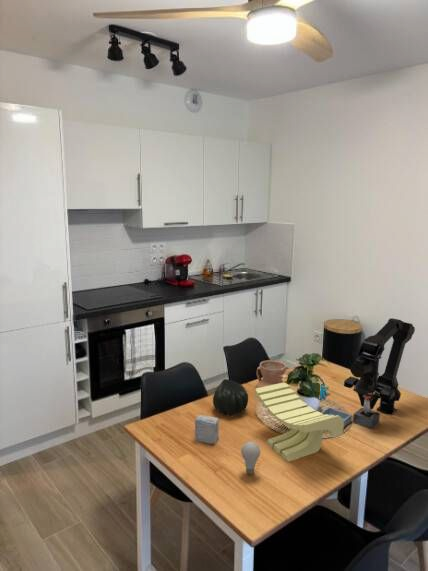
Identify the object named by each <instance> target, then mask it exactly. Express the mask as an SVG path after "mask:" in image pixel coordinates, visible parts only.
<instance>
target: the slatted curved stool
mask: <svg viewBox="0 0 428 571" xmlns="http://www.w3.org/2000/svg"><path fill="white" fill-rule="evenodd" d="M254 391H255V392H254V394H255V395H254V396H255V397H257V398H258V402H260V403H261V404H262V407H263V408H265V409H267V414H268V413H269V414H270V415H271V416H272V417H274V419H276V420H277V421H278V422H280V423H282V424H283V425H284V426H285V427H286V428H288V429H289V431H287V432H285V433H283V434H281V435H278V436H275V437H271V438H268V439H267V441H266V444H267V445H269V447H271V448H273V450H274V451H275V452H276V453H277V454H279V455H281V457H282V458H283V459H284V460H286V462H291V461H295V460H297V459H300V458H303V457H307V456H309V455H312V454H315V453H316V454H317V452H318V451H320V449H321V448H322V443H323V436H324V433H328V434H329V435H330V436H331V437H332V438H337V437H340V436H342V435H344V428H343V427H344V422H343V419H342V418H341V417H340V416H338V415H337V416H334V415H331V416H329V415H327V414H326V415H324V414H322V413H321V412H320V411H319V410H316V409H314V408H313V407H311V406H309V405H308V403H306V402H304V400H301V397H300V396H299V395H298V394H297V393H296V392H295V390H293V389H292V387H291V385H289V384H288V383H286V382H285V383H279V384H274V385H270V386H265V387H260V388H257V387H256V388H254Z"/></svg>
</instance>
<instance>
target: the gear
mask: <svg viewBox="0 0 428 571" xmlns="http://www.w3.org/2000/svg"><path fill="white" fill-rule="evenodd" d="M323 383H324V385H323ZM320 384H321V391H320V396H319V397H320V399H319V400H320V401H321V400H322V399H326V397H327V395H328V394H329V392H328V391H327V390H328V389H330V387H329V385H328V386H326V384H325V382H322V383H320ZM325 386H326V387H325Z"/></svg>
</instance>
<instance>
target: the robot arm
mask: <svg viewBox="0 0 428 571" xmlns="http://www.w3.org/2000/svg"><path fill="white" fill-rule="evenodd" d="M415 330H416V328H415V326H414V325H413V323H410V322H405V321H403V320H401V319H397V318H393V317H392V318H388V320H387V322H386V323H385V324H384V325H383V326H382V327H381V328H380V330H378V331H377V333H376V334H374V335H370V336H367V337H366V338H365V339H363V341H362V342H361V344H360V346H359V349H358V351H357V354H356V357H357V358H356V359H355V362H353V363H351V365H350V367H349V369H350V370H349V371H350V373H351V374H352V376H349V377H347V378H346V379H344V382H343V386H344V387H345V388H348V389H352V388H353V389H352V391H353V392H355V393H356V394H357V395H358V399H359V401H360V405H361V408H363V405H364V397H363V396H362V394H363V395H368V394H369V393H374V394H373V395H372V404H371V410H373V409H375V406H376V404H377V403H378V401H379V406H378V407H377V408H376V412H382V413H383V414H387V415H390V416H391V415H393V414H394V413H395V412H397V410H398V409H397V408H396V407H395V402H399V401H400V398H401V395H402V394H401V392H400V390H399V388H398V387H399V382H398V379H397V375H398V371H399V368H400V363H401V361H402V357H403V353H404V350H405V346H406V344H407V343H408V342H409V341H411V340H412V338H413V335H414V334H415ZM391 338H392V339H393V341H392V344H391V348H390V351H389V354H388V359H387V362H386V366H385V369H384V372H383V373H382V374H381V375H379V374H380V372H379V365H380V360H381V359H382V354H383V352H384V350H385V345H386V343H387V342H388V341H390V340H391ZM379 399H380V400H379Z"/></svg>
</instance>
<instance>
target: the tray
mask: <svg viewBox="0 0 428 571" xmlns="http://www.w3.org/2000/svg"><path fill="white" fill-rule="evenodd" d="M320 413H322V414H324V415H326V414H327V415H329V416H331V415H334V416H337V415H338V416H340V417H341V418H342V419H343V422H344V427H345V426H346V425H347V426H348V425H349V424H351V423H352V421H353V420H352V418H353V415H352V414H350V413H347V412H345V411H341V410H339V409H336V408H333V407H329V406H328V407H326V408H325V409H323V410H322V411H321V412H320ZM350 422H351V423H350ZM347 426H346V427H347ZM344 427H343V429H345V428H346V427H345V428H344Z"/></svg>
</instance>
